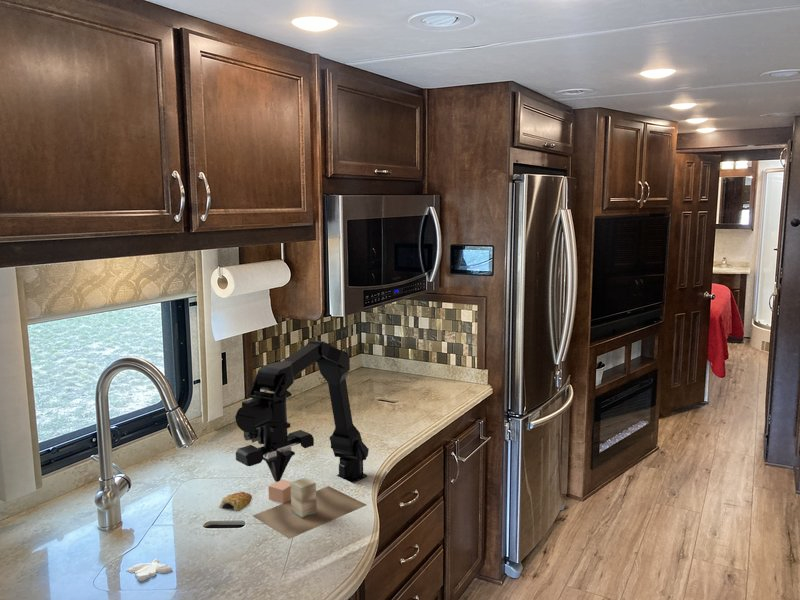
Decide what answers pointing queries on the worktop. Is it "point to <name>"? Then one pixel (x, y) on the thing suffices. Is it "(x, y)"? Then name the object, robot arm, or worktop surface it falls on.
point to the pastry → (235, 501)
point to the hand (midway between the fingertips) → (277, 481)
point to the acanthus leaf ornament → (148, 569)
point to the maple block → (303, 497)
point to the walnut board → (328, 509)
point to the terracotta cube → (280, 491)
